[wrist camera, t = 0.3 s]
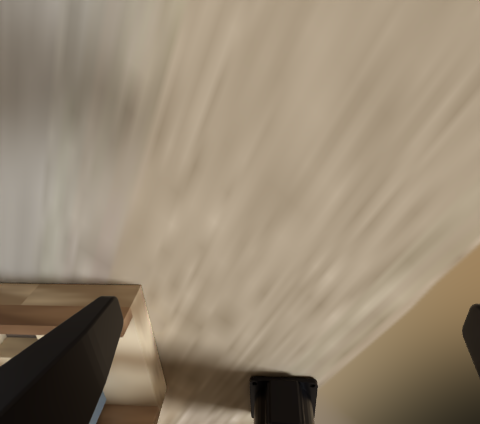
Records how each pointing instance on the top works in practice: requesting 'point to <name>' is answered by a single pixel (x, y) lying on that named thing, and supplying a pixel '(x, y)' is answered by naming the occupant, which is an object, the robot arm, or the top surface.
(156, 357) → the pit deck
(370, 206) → the top surface
